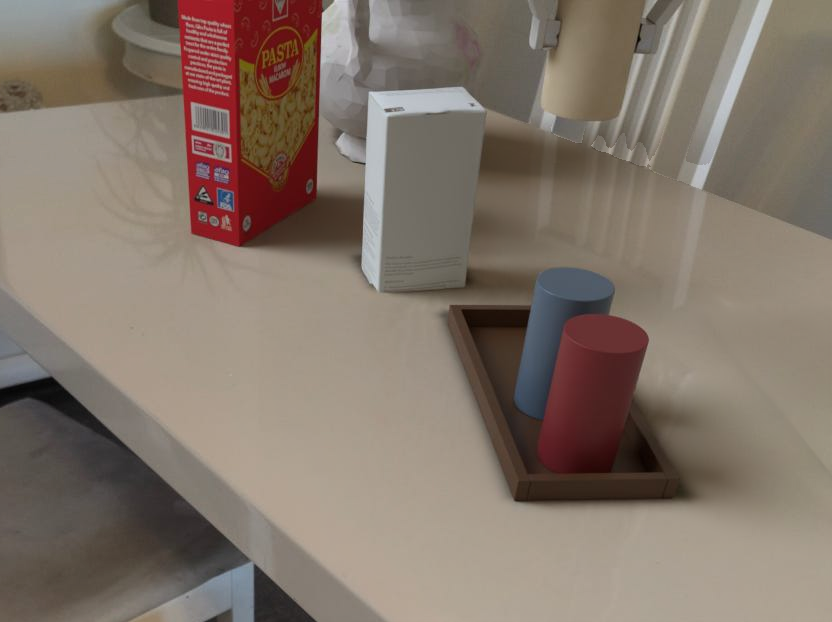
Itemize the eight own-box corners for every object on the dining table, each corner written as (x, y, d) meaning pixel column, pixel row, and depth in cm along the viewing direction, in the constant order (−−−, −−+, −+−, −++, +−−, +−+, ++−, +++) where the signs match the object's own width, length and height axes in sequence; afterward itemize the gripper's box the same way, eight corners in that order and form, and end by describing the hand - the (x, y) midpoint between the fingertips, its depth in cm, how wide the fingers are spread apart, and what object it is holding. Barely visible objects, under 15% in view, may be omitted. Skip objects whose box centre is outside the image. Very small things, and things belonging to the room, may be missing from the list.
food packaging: (239, 246, 89) (231, -92, 72) (191, 233, 91) (171, -101, 74) (316, 198, 99) (325, -110, 82) (271, 187, 101) (271, -118, 83)
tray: (571, 329, 81) (576, 305, 80) (671, 505, 63) (680, 478, 62) (446, 329, 80) (449, 304, 78) (512, 508, 62) (518, 481, 61)
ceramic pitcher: (453, 206, 102) (512, -83, 85) (272, 170, 103) (295, -125, 86) (467, 143, 118) (520, -112, 101) (310, 112, 118) (336, -148, 101)
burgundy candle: (600, 436, 68) (633, 313, 62) (623, 479, 64) (660, 353, 58) (528, 436, 67) (554, 313, 61) (546, 480, 64) (576, 353, 57)
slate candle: (574, 385, 73) (602, 267, 67) (593, 422, 69) (625, 301, 63) (506, 385, 72) (528, 266, 66) (522, 422, 69) (547, 300, 62)
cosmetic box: (444, 266, 89) (467, 84, 78) (466, 295, 85) (493, 107, 74) (355, 270, 87) (366, 85, 77) (373, 300, 83) (387, 109, 72)
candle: (535, 116, 65) (566, -66, 58) (543, 94, 69) (573, -79, 62) (618, 126, 65) (659, -56, 58) (621, 104, 68) (660, -70, 62)
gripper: (797, -221, 58) (723, 43, 68) (461, -245, 56) (434, 32, 66) (845, -214, 54) (759, 68, 63) (482, -240, 51) (450, 57, 61)
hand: (591, 50), depth 64 cm, fingers closed on candle, 5 cm apart
